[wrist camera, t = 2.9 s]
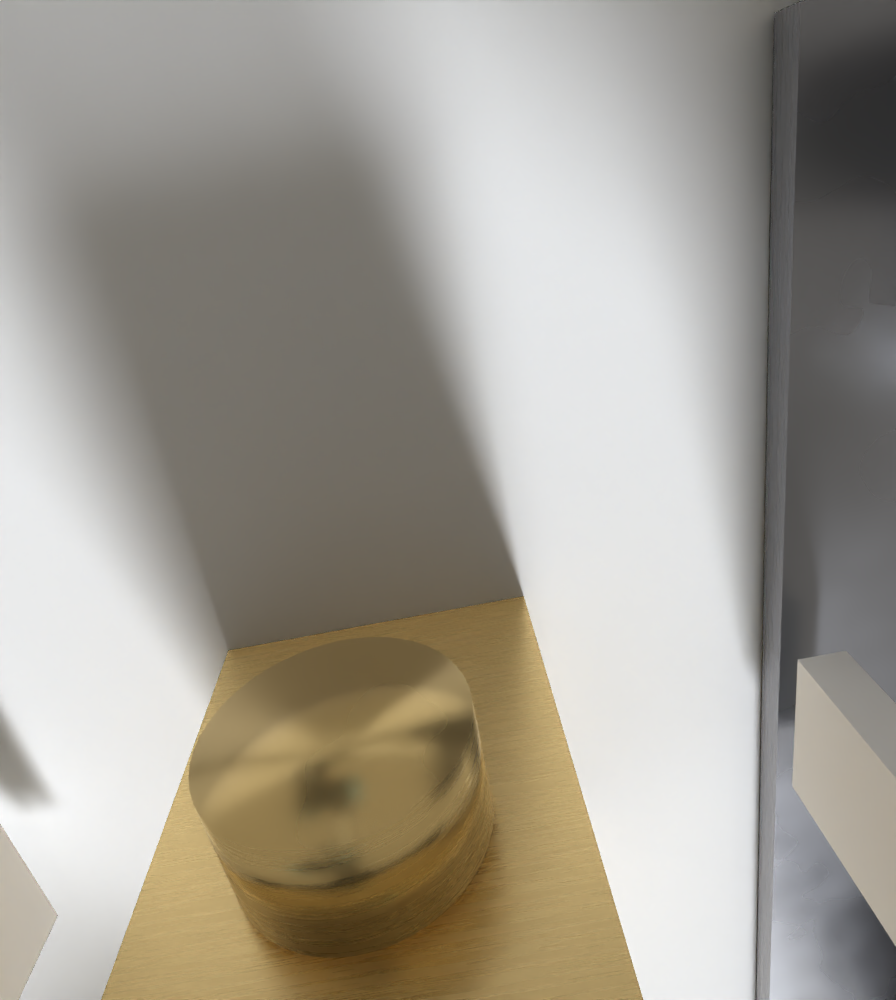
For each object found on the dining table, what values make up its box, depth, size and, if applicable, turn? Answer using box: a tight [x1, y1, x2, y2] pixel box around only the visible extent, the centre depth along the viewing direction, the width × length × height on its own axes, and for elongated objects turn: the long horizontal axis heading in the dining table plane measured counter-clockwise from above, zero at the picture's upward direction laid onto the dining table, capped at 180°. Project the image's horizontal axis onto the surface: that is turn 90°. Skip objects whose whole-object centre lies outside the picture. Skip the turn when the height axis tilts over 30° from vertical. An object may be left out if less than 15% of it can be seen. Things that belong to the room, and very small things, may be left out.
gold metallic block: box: [101, 596, 643, 1000], centre depth 9 cm, size 8×5×8 cm, turn 10°
